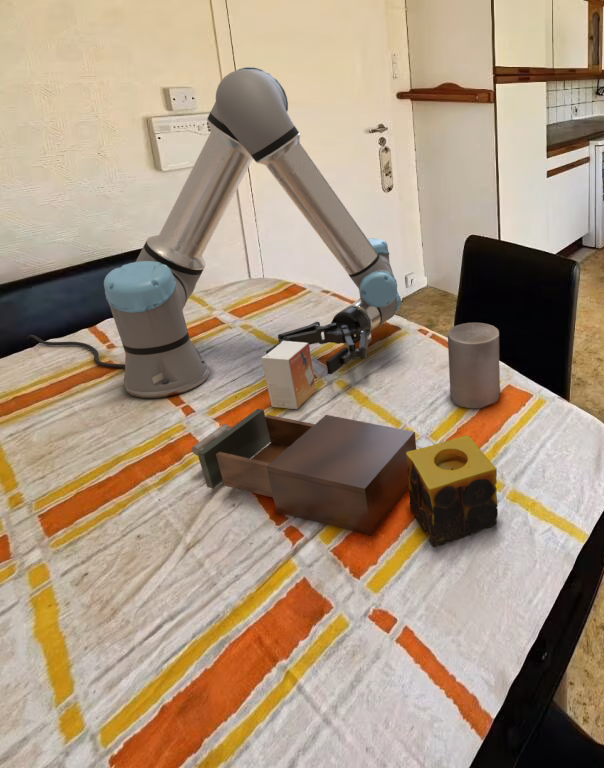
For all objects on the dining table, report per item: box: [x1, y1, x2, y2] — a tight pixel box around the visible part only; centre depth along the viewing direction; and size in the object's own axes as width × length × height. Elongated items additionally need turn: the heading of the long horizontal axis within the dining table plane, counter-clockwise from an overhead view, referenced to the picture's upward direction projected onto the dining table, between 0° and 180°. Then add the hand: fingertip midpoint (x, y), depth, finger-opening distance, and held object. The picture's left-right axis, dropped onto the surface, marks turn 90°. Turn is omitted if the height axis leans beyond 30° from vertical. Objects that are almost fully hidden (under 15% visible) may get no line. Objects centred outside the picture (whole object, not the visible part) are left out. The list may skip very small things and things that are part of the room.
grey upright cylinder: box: [447, 322, 501, 409], centre depth 118 cm, size 10×10×15 cm
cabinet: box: [266, 414, 417, 537], centre depth 93 cm, size 16×15×8 cm
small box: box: [261, 341, 317, 410], centre depth 118 cm, size 8×6×10 cm
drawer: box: [190, 408, 316, 498], centre depth 98 cm, size 20×14×6 cm
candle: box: [406, 434, 499, 548], centre depth 88 cm, size 10×10×10 cm
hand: (298, 362), depth 120 cm, fingers open, 13 cm apart
